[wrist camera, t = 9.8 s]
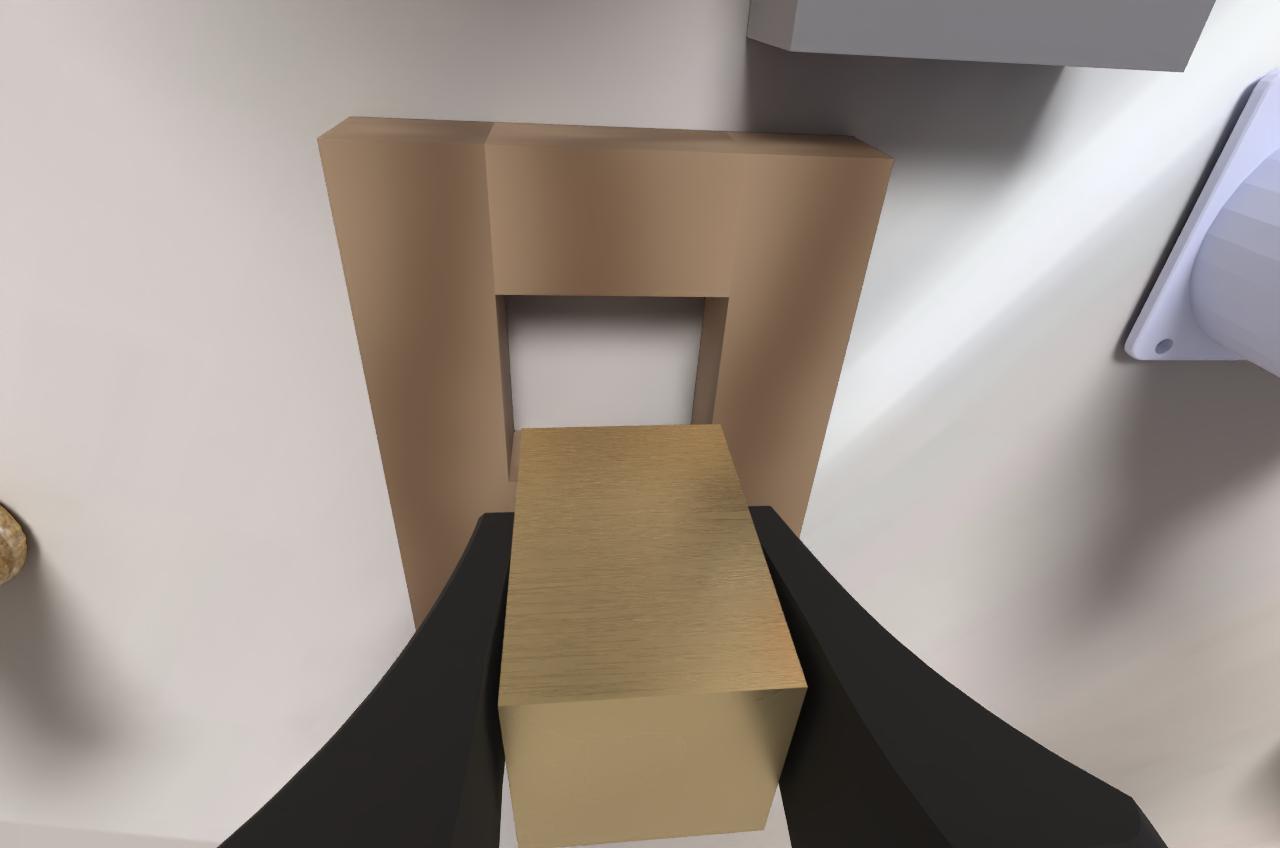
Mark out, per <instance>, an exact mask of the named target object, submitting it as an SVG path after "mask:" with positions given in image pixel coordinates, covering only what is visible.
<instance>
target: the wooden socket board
mask: <svg viewBox="0 0 1280 848" xmlns="http://www.w3.org/2000/svg"><path fill="white" fill-rule="evenodd" d="M317 141H318V146H319V151H320V156H321V161H322V166H323V171H324V176H325V181H326V186H327V191H328V196H329V201H330V206H331V211H332V216H333V221H334V226H335V231H336V236H337V241H338V246H339V250H340V255H341V260H342V265H343V270H344V275H345V280H346V285H347V290H348V295H349V300H350V305H351V310H352V315H353V320H354V325H355V330H356V335H357V340H358V345H359V350H360V355H361V360H362V365H363V370H364V375H365V379H366V384H367V389H368V394H369V399H370V404H371V409H372V414H373V419H374V424H375V429H376V434H377V439H378V444H379V449H380V454H381V459H382V464H383V469H384V474H385V479H386V484H387V489H388V494H389V499H390V504H391V508H392V513H393V518H394V523H395V528H396V533H397V538H398V543H399V548H400V553H401V558H402V563H403V568H404V573H405V578H406V583H407V588H408V593H409V598H410V603H411V608H412V613H413V618H414V623H415V628H416V631H417V629H418V628H419V626H420V625H421V623H422V622H423V620H424V619H425V617H426V616H427V614H428V613H429V611H430V610H431V608H432V607H433V605H434V604H435V602H436V600H437V599H438V597H439V595H440V594H441V592H442V590H443V588H444V587H445V585H446V583H447V582H448V580H449V578H450V576H451V575H452V573H453V571H454V570H455V568H456V566H457V564H458V562H459V560H460V558H461V556H462V554H463V553H464V550H465V548H466V546H467V544H468V542H469V540H470V538H471V536H472V534H473V531H474V529H475V527H476V524H477V521H478V519H479V517H480V516H482V515H483V514H484V513H494V512H515V504H516V493H517V481H518V470H519V458H520V447H521V436H522V431H514V423H513V407H512V391H511V375H510V359H509V343H508V327H507V311H506V295H572V296H663V297H706V299H705V308H704V317H703V325H702V334H701V343H700V351H699V360H698V369H697V378H696V386H695V395H694V404H693V413H692V421H691V425H699V424H720V425H721V428H722V431H723V434H724V437H725V440H726V443H727V446H728V449H729V452H730V455H731V458H732V461H733V464H734V467H735V470H736V473H737V476H738V479H739V482H740V485H741V488H742V491H743V494H744V497H745V500H746V503H747V506H771V507H772V508H773V509H774V510H775V511H776V512H777V513H778V514H779V516H780V517H781V518H782V519H783V520H784V521H785V523H786V524H787V525H788V526H789V527H790V529H791V530H792V531H793V532H794V533H795V534H796V536H797V537H798V538H799V537H800V533H801V529H802V525H803V521H804V517H805V513H806V509H807V505H808V501H809V497H810V493H811V489H812V485H813V481H814V477H815V473H816V469H817V465H818V461H819V457H820V453H821V449H822V445H823V441H824V437H825V433H826V429H827V425H828V421H829V417H830V413H831V409H832V405H833V401H834V397H835V393H836V389H837V385H838V381H839V377H840V373H841V369H842V365H843V361H844V357H845V353H846V349H847V345H848V341H849V337H850V333H851V329H852V325H853V321H854V317H855V313H856V309H857V306H858V302H859V298H860V294H861V290H862V286H863V282H864V278H865V274H866V270H867V266H868V262H869V258H870V254H871V250H872V246H873V242H874V238H875V234H876V230H877V226H878V222H879V218H880V214H881V210H882V206H883V202H884V198H885V194H886V190H887V186H888V182H889V178H890V174H891V170H892V166H893V162H894V159H893V158H892V157H890V156H888V155H886V154H884V153H882V152H881V151H879V150H877V149H875V148H873V147H872V146H870V145H868V144H866V143H864V142H862V141H861V140H859V139H857V138H855V137H853V136H836V135H810V134H784V133H759V132H733V131H707V130H682V129H656V128H630V127H605V126H579V125H553V124H528V123H502V122H477V121H451V120H425V119H400V118H374V117H349V118H347V119H346V120H344V121H343V122H341V123H340V124H338V125H337V126H335V127H334V128H332V129H331V130H329V131H328V132H326V133H325V134H323V135H322V136H320V137H319V138H317Z"/></svg>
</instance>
